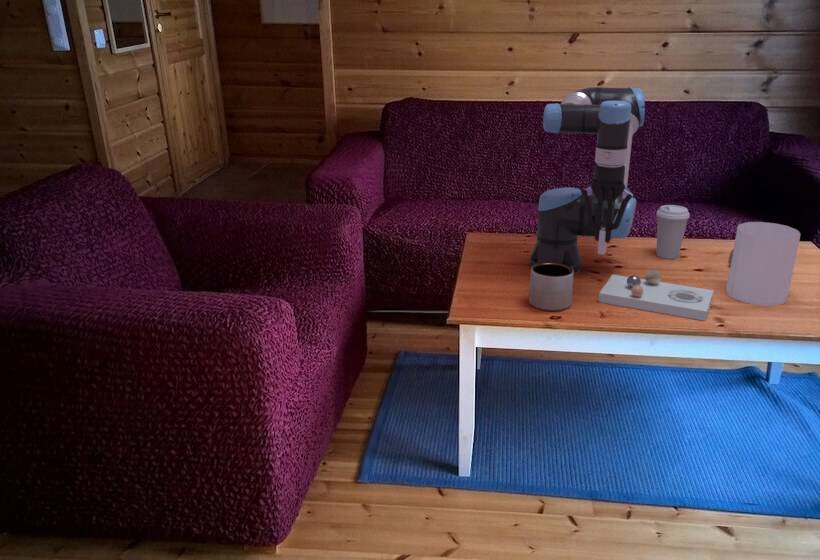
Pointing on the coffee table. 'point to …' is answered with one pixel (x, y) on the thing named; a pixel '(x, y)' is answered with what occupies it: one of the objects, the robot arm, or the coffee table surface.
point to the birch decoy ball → (653, 276)
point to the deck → (659, 298)
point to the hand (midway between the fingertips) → (601, 252)
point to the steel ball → (633, 281)
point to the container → (762, 263)
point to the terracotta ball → (637, 291)
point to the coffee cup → (670, 230)
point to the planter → (551, 286)
